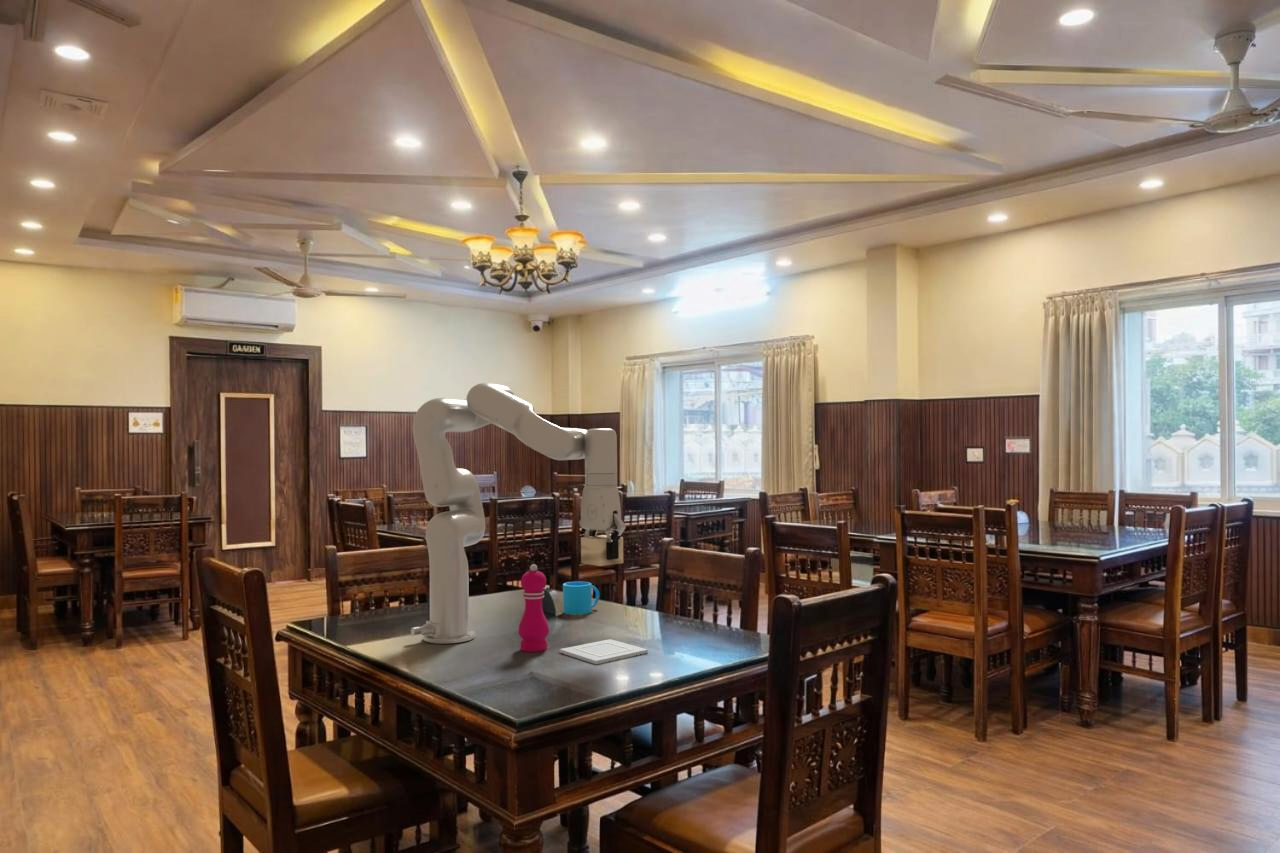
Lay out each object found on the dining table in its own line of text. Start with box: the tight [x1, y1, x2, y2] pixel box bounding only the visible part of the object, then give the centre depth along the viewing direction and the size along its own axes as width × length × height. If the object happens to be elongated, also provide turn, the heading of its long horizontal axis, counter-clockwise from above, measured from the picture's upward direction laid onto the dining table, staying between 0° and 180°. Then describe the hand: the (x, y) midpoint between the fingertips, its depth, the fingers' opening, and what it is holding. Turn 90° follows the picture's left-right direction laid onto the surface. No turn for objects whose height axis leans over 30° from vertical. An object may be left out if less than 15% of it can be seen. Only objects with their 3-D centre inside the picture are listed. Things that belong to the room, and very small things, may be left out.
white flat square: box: [559, 638, 649, 665], centre depth 196 cm, size 15×14×1 cm
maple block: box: [580, 534, 624, 567], centre depth 197 cm, size 7×7×6 cm
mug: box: [562, 581, 601, 615], centre depth 244 cm, size 12×8×8 cm
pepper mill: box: [518, 563, 550, 653], centre depth 200 cm, size 7×7×20 cm
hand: (602, 557), depth 197 cm, fingers closed on maple block, 7 cm apart
